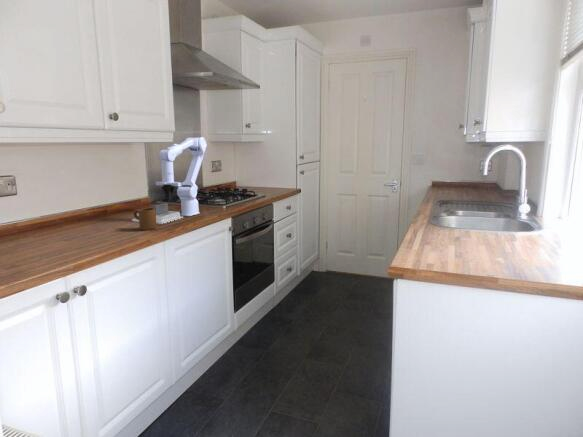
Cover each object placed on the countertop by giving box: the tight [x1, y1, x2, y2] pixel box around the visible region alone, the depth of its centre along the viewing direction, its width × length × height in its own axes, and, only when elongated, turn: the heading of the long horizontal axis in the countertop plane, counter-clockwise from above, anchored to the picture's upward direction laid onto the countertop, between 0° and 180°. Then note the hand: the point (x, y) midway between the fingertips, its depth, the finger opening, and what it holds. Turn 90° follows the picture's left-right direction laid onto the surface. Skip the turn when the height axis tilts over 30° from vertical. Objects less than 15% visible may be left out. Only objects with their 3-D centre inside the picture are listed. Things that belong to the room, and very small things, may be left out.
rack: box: [131, 210, 184, 225], centre depth 215 cm, size 16×20×4 cm
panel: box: [152, 202, 169, 215], centre depth 214 cm, size 9×2×7 cm, turn 155°
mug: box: [132, 207, 158, 232], centre depth 193 cm, size 12×8×9 cm, turn 66°
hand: (169, 199), depth 214 cm, fingers closed
